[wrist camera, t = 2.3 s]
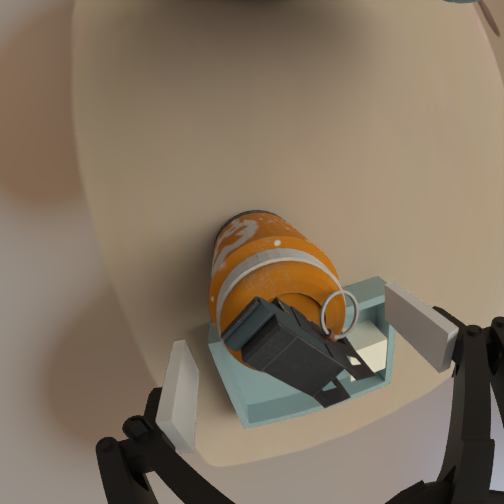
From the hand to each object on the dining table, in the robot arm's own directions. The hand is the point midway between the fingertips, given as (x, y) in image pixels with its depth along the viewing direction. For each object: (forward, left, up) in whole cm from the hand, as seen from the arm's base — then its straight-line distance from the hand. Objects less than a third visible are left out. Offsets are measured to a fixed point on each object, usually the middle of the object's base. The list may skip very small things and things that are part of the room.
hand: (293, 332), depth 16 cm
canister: (0, 0, -15) cm, 15 cm away
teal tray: (+14, +3, -15) cm, 21 cm away
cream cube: (+14, +10, -14) cm, 22 cm away
